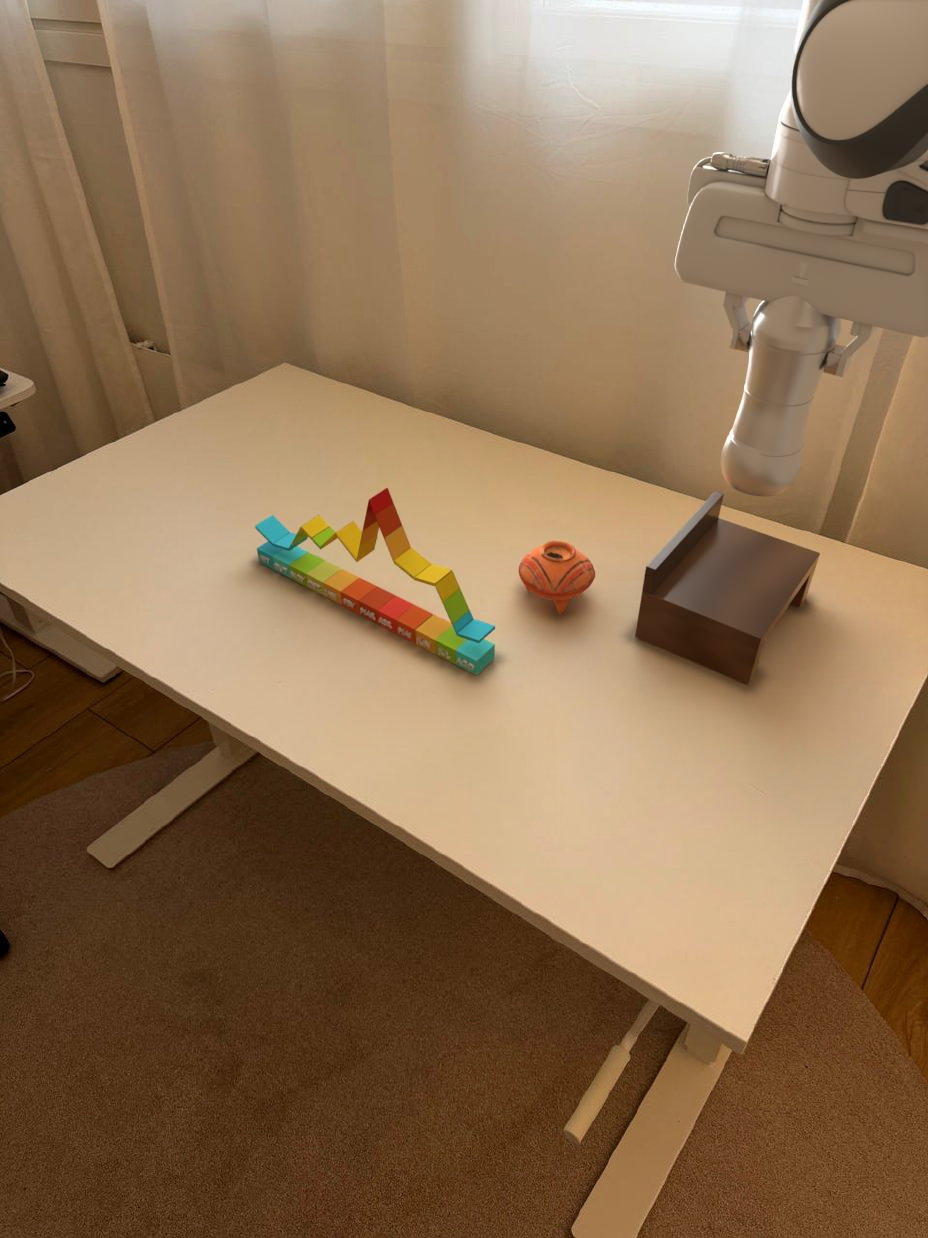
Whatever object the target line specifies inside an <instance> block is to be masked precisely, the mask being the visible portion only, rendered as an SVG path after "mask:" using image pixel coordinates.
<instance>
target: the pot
mask: <svg viewBox="0 0 928 1238" xmlns="http://www.w3.org/2000/svg"><path fill="white" fill-rule="evenodd" d="M518 577H519V579H520V580H521V582H522V583H523V584H524V586H525V589H526V590H527V592H532V593H533V594H534V595H536V596H538V597H539V598H541V599H545V600H550V601H551V600H552V601H553V603H554V604H555V607H556V610H557V613H558V614H559V615H561V614H563V613H564V612H565V611H566V608H567V606H568V603H569V600H570V599H571V598H574V597H576V596H578V595H580V594H582V593H584V592H585V591H587V590H588V588H589V587H591V585H592V584H593V582H594V580H595V578H596V571H595V567H594V565H593V563H592V561H591V560H590V559H589V558H588V557H587V556H586V555H585V554H583V553H582V552H581V551H580V550H578V549H576V548H575V546H574V545H573V544H571V543H569V542H566V541H561V540H551V541H547V542H545V543H544V544H541V545H538V546H537V547H536V546H535V548H533V549H531V550H530V551H529V552H527V553H526V554H525V556H524V557H523V558H522V560H521V561H520V563H519V566H518Z"/></svg>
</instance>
